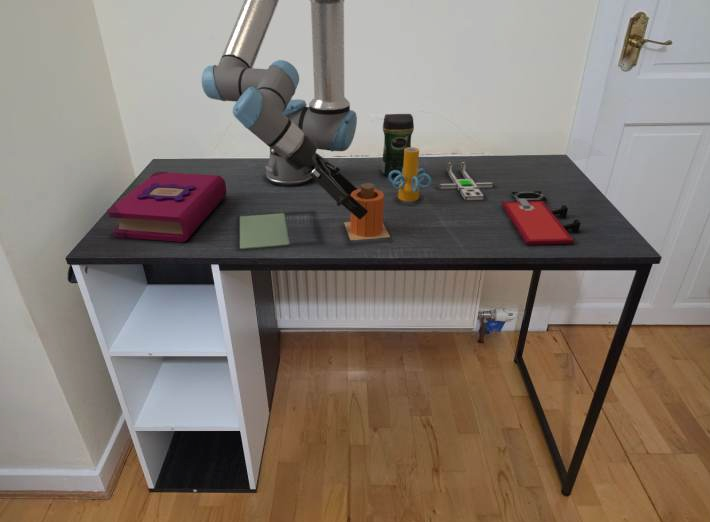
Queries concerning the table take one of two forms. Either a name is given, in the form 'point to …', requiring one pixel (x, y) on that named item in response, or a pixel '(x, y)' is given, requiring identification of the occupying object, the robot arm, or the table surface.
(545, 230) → the red board with handle
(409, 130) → the coffee jar
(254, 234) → the mat
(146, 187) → the book
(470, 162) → the table surface
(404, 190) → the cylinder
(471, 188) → the robot figure
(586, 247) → the table surface
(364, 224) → the orange hollow tube
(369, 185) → the peg stand
